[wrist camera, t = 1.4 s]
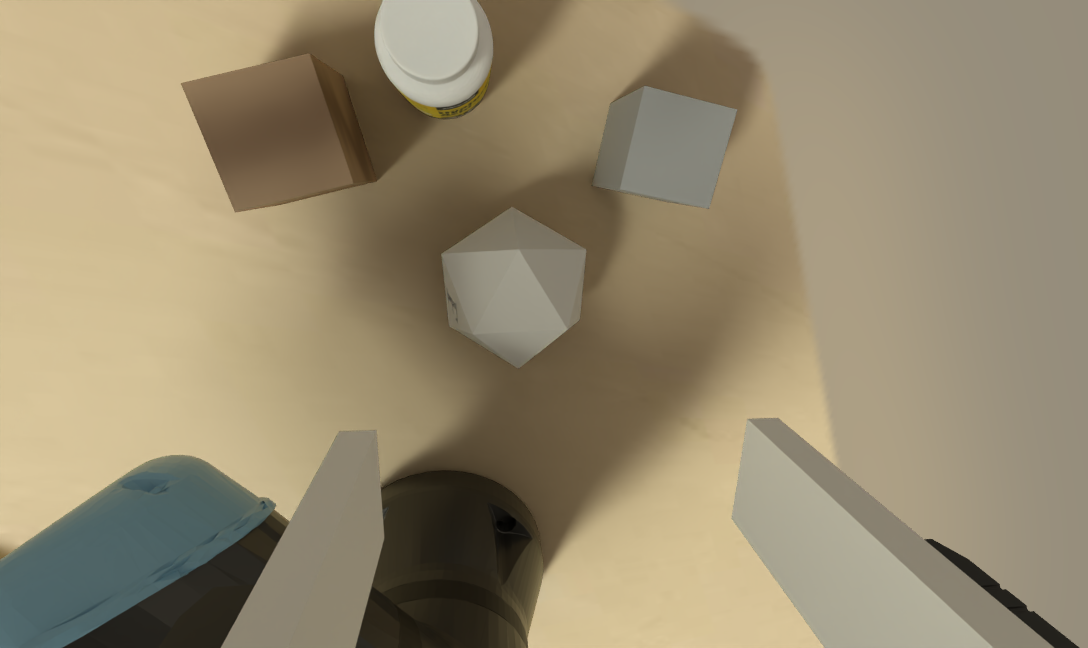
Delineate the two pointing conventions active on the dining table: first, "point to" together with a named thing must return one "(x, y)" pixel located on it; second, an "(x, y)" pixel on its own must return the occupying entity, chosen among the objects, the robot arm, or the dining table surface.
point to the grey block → (664, 147)
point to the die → (514, 286)
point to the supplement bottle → (436, 53)
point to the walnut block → (280, 131)
